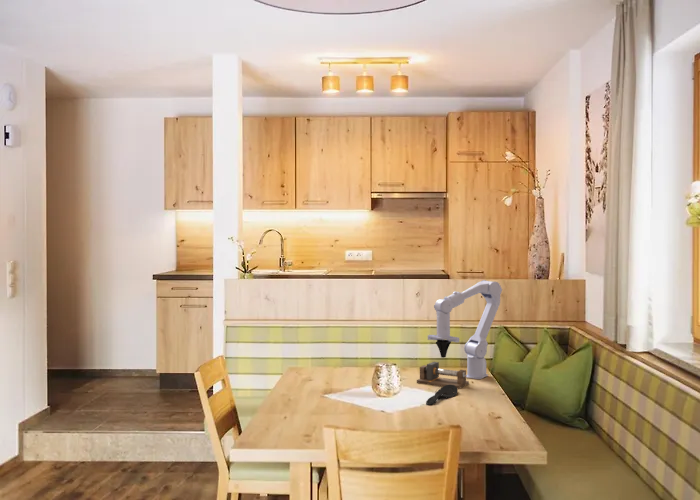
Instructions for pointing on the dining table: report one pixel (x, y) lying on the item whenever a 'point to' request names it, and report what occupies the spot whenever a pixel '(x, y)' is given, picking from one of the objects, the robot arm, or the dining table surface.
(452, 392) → the hairbrush
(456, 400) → the dining table surface
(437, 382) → the pipe stand
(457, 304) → the robot arm
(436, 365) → the collar
